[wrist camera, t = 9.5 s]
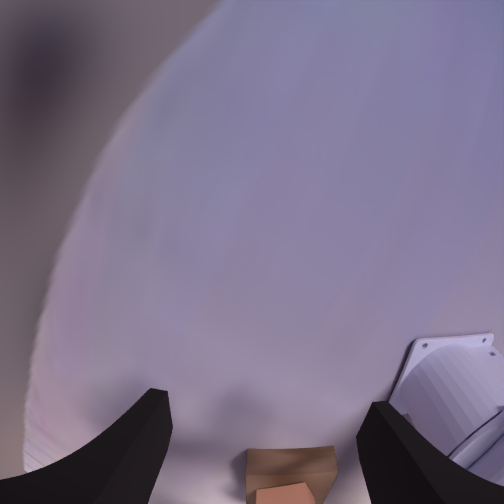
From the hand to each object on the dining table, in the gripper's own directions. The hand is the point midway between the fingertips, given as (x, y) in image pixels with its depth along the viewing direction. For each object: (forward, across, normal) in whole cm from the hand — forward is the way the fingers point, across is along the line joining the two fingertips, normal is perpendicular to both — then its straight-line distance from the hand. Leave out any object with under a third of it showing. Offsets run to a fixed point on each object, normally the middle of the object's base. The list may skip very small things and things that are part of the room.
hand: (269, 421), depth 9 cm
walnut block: (+10, -4, +19) cm, 22 cm away
